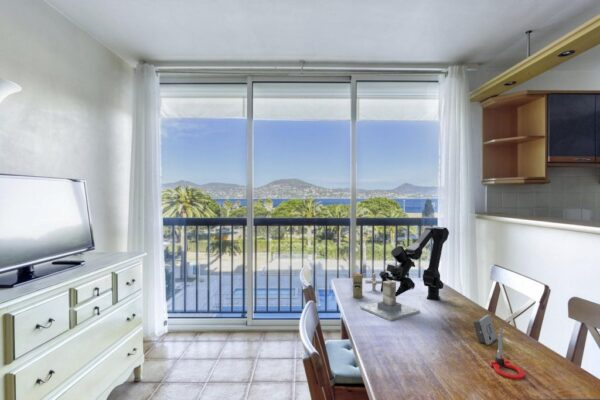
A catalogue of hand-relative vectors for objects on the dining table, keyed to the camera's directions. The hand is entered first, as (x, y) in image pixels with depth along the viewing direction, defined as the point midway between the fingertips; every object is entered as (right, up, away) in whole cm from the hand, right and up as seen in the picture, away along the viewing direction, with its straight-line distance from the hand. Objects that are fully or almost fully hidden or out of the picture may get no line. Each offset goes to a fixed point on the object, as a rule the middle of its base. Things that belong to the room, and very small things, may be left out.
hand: (388, 293), depth 166 cm
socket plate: (+1, -8, +1) cm, 8 cm away
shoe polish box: (-11, -8, +24) cm, 27 cm away
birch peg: (+1, -7, +1) cm, 7 cm away
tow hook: (+24, -10, -57) cm, 62 cm away
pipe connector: (+1, -8, +35) cm, 35 cm away
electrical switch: (+29, -9, -33) cm, 45 cm away
